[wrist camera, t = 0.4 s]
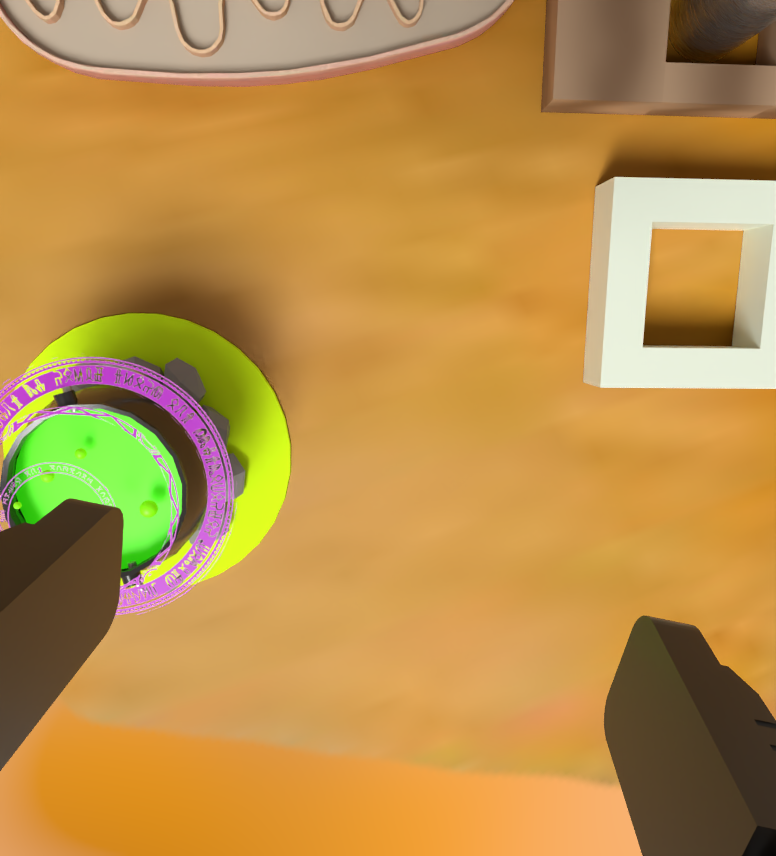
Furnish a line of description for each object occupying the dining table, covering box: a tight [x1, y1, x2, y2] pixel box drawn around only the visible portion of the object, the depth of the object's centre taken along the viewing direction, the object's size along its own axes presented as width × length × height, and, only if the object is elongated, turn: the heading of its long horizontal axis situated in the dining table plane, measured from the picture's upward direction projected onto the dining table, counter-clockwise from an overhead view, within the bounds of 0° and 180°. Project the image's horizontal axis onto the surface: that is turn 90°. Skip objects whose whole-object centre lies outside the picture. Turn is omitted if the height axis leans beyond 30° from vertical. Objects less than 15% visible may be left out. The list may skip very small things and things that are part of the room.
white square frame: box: [583, 177, 776, 389], centre depth 33 cm, size 10×10×2 cm
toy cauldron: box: [0, 313, 291, 618], centre depth 29 cm, size 15×15×11 cm
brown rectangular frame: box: [541, 0, 776, 119], centre depth 31 cm, size 16×9×2 cm, turn 89°
